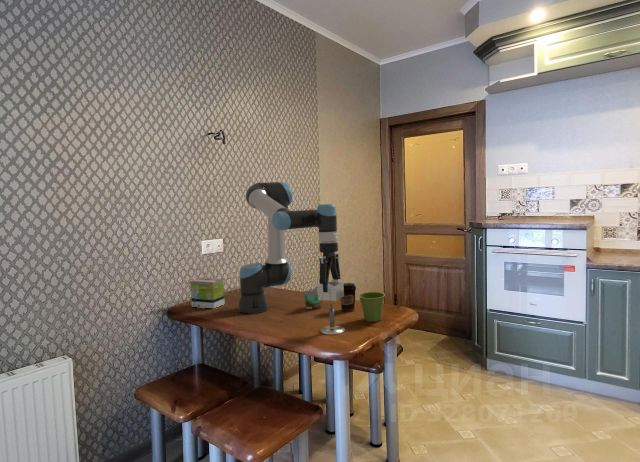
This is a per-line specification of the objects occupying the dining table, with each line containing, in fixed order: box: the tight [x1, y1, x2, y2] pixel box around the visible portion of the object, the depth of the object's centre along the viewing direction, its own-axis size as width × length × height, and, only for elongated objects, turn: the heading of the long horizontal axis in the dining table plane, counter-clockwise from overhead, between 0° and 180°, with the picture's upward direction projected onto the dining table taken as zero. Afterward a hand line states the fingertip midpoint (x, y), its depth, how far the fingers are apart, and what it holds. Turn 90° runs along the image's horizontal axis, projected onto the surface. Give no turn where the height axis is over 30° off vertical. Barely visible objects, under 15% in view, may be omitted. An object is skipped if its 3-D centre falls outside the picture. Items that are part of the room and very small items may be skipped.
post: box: [319, 303, 346, 336], centre depth 159 cm, size 10×10×11 cm
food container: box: [303, 286, 322, 311], centre depth 195 cm, size 12×6×10 cm, turn 148°
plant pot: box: [357, 291, 386, 323], centre depth 171 cm, size 12×12×11 cm
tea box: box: [189, 277, 226, 309], centre depth 209 cm, size 15×10×15 cm
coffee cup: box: [339, 282, 357, 313], centre depth 188 cm, size 9×8×13 cm
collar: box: [317, 280, 344, 302], centre depth 158 cm, size 8×8×6 cm
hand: (331, 297), depth 159 cm, fingers closed on collar, 8 cm apart
